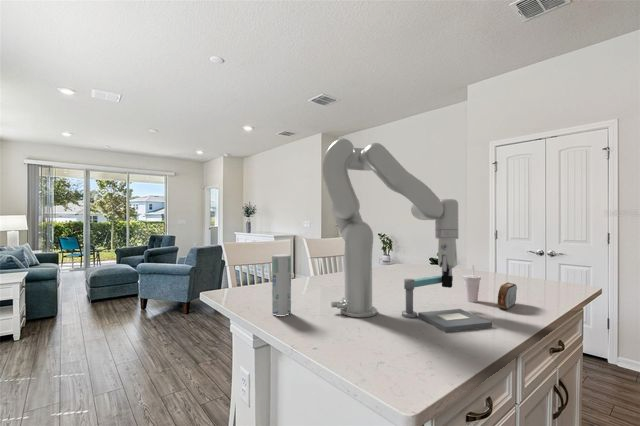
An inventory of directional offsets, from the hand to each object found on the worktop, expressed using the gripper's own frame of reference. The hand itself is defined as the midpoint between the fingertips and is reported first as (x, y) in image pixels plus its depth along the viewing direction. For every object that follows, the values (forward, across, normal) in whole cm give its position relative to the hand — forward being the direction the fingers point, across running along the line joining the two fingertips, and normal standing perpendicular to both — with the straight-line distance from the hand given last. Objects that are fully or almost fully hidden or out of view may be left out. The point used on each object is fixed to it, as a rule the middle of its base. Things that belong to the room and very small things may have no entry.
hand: (447, 286), depth 109 cm
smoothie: (+9, +19, -6) cm, 21 cm away
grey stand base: (+9, -11, 0) cm, 14 cm away
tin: (+9, +16, -18) cm, 26 cm away
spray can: (+9, -32, +48) cm, 58 cm away
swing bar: (-1, -3, +5) cm, 6 cm away
